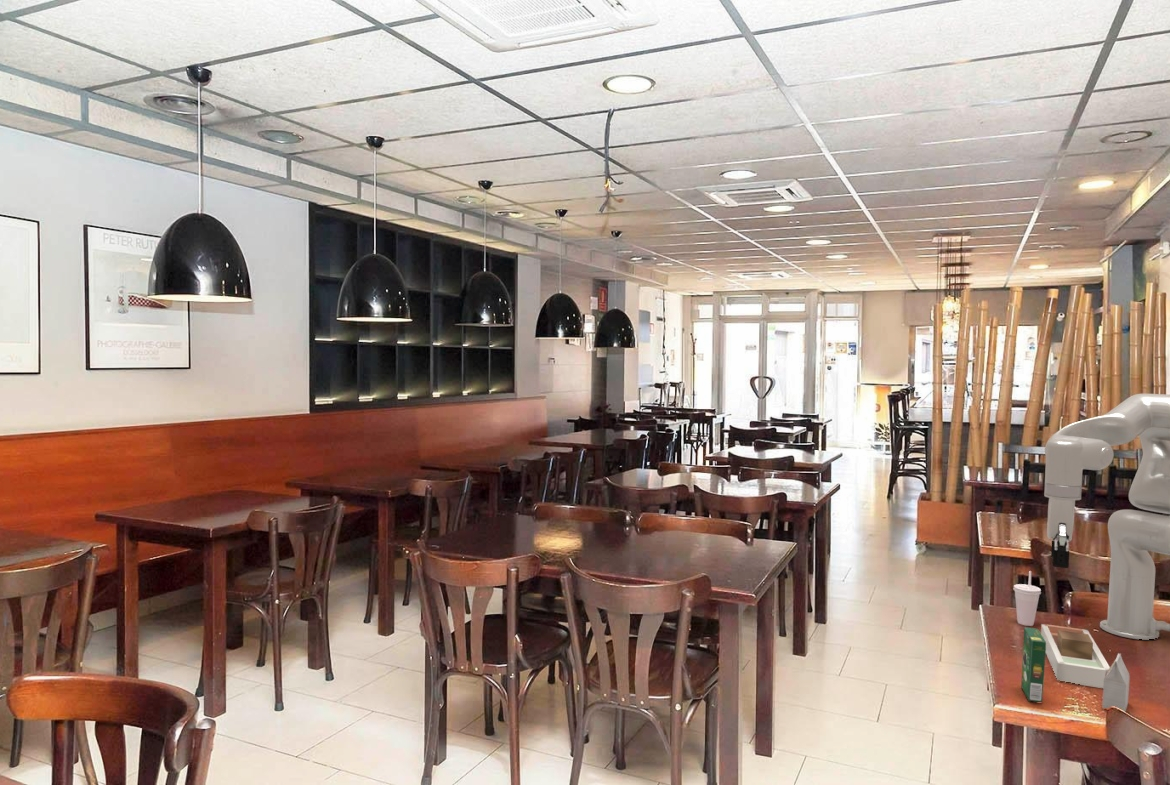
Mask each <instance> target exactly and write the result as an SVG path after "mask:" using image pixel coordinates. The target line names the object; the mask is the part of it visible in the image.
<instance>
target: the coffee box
mask: <svg viewBox="0 0 1170 785" xmlns="http://www.w3.org/2000/svg"><path fill="white" fill-rule="evenodd" d="M1045 662H1046V641H1045V640H1044V638H1043V636H1042V635H1041V630H1039V628H1034V627H1028V626H1025V627H1024V628H1023V647H1022V663H1021V664H1022V666H1021V684H1020V686H1021V688H1022V691H1023V693H1024V695H1025V698H1026V697H1027V698H1026V699H1028V700H1027V702H1029V701H1034V702H1033V703H1035V702H1042V703H1043V695H1044V694H1043V693H1044V680H1045V666H1046V663H1045Z"/></svg>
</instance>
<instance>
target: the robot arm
mask: <svg viewBox="0 0 1170 785" xmlns="http://www.w3.org/2000/svg"><path fill="white" fill-rule="evenodd" d="M1137 437H1139V438H1138V439H1139V441H1140V445H1141V449H1142V450H1141V451H1142V458H1141V461H1140V463H1139V465H1138V469H1137V471H1136V473H1135V476H1134V478H1133V480H1132V483H1131V486H1130V489H1129V491H1128V500H1129V502H1130V504H1131V505H1132V506H1134V507H1136V508H1138V509H1141V510H1142V511H1141V510H1136V509H1120V510H1117V511H1114V512H1113V513H1112V514H1111V515H1110V517H1109V518H1108V521H1107V532H1108V538H1109V544H1110V565H1109V567H1110V568H1109V587H1108V601H1107V603H1108V604H1107V619H1103V620H1101V621H1100V622H1099V627H1100V629H1102V630H1103V631H1105V632H1107V633H1109V634H1112V635H1114V636H1118V637H1123V638H1128V639H1133V640H1139V639H1142V640H1141V641H1150V640H1149V639H1154V640H1156V639H1155V638H1157V639H1158V637H1160V631H1166V632H1170V623H1168V622H1167V621H1163V620H1156V619H1155V617H1154V600H1155V586H1156V585H1155V584H1156V583H1155V582H1156V581H1155V580H1156V566H1155V562H1154V560H1153V558H1152V556H1151V555H1150V553H1149V552H1152V553H1157V554H1161V555H1167V556H1170V394H1163V393H1145V392H1144V393H1137V394H1133V395H1131V396H1129V397H1127V398H1126V399H1124V400H1123V401H1122V402H1120V403H1119V404H1118V405H1117V406H1115V407H1114V408H1112V409H1110V410H1109V411H1108V412H1107V413H1105V414H1103V415H1098V416H1094V417H1090V418H1087V419H1083V420H1080V421H1077V422H1072V423H1070V424H1067V425H1066V426H1064V427H1061V429H1059V430H1057V431H1056V432H1055V433H1053V434H1052V435H1051V436H1050V437H1049V439H1048V440H1047V441H1046V443H1045V445H1044V446H1045V447H1044V454H1045V470H1044V471H1045V472H1044V494H1043V495H1044V496H1043V497H1045V498H1048V504H1047V505H1048V507H1047V524H1046V535H1047V539H1048V540H1051V549H1050V550H1051V553H1050V554H1051V556H1050V557H1051V558H1052V566H1053V567H1055V568H1063V569H1068V568H1069V567H1070V550H1069V542H1071V541H1072V539H1073V534H1074V533H1073V532H1074V524H1075V523H1074V522H1075V510H1076V507H1075V506H1076V501H1080V500H1082V491H1083V490H1082V488H1083V486H1082V485H1083V484H1082V483H1083V471H1084V470H1089V471H1090V470H1091V471H1101V470H1104V469H1106V468H1108V466H1110V465H1111V463H1112V462H1113V460H1114V456H1115V454H1114V449H1113V448H1112V447H1114V446H1121V445H1127V444H1128V443H1131V442H1133V441H1134V440H1135V439H1136V438H1137ZM1143 510H1145V511H1143ZM1148 511H1150V512H1148ZM1153 512H1154V513H1153ZM1158 513H1160V514H1158ZM1161 513H1162V514H1161ZM1166 514H1167V515H1166Z"/></svg>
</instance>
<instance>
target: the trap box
mask: <svg viewBox="0 0 1170 785" xmlns="http://www.w3.org/2000/svg"><path fill="white" fill-rule="evenodd" d="M1058 630H1061V631H1068V632H1076V633H1083V634H1088V635H1089V637H1090V638H1091V640H1092V642H1093V652H1092V660H1087V659H1081V658H1074V657H1067V656H1061V654H1060V652H1059V650H1058V648H1057V640H1058ZM1040 633H1041V635H1042V636H1043V638H1044V640H1045V641H1046V653H1045V655H1046V656H1047V659H1048V661H1049V664H1050V667H1051V666H1052V667H1051V669H1052V668H1053V669H1052V671H1054V672H1053V674H1054V673H1055V674H1054V676H1056V677H1055V679H1056V678H1057V679H1056V681H1057V680H1060V681H1065V682H1064V683H1066V682H1071V683H1070V684H1072V683H1075V684H1074V685H1078V684H1080V685H1079V686H1085V687H1093V688H1099V689H1103V687H1104V679H1105V676H1106V674H1107V671H1108V670H1109V668H1110V667H1111V666H1110V665H1109V663H1108V662H1107V660H1106V658H1105V656H1104V655H1103V653H1102V651H1101V650H1100V648H1099V646H1098V645H1097V643H1096V642H1095V639H1094V638H1093V637H1092V635H1091V633H1090V631H1089V630H1088V629H1084V628H1083V629H1082V628H1075V627H1069V626H1061V625H1054V624H1053V625H1052V624H1047V623H1041V624H1040ZM1060 681H1059V682H1060Z"/></svg>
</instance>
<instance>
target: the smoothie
mask: <svg viewBox="0 0 1170 785" xmlns="http://www.w3.org/2000/svg"><path fill="white" fill-rule="evenodd" d="M1027 583H1028V584H1025V583H1024V584H1022V583H1019V584H1014V585H1013V591H1014V598H1015V607H1016V608H1015V609H1016V620H1017V624H1019V625H1021V626H1025V627H1028V626H1029V627H1033V626H1034V623H1035V619H1036V614H1037V609H1038V604H1039V598H1040V595H1041V594H1042V592H1041V591H1042V590H1041V588H1040V587H1038V586H1036V585H1032V571H1031V570H1029V571H1028V582H1027Z"/></svg>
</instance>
